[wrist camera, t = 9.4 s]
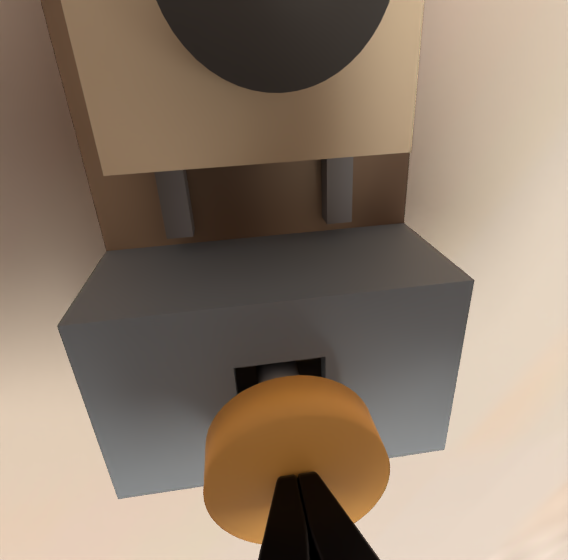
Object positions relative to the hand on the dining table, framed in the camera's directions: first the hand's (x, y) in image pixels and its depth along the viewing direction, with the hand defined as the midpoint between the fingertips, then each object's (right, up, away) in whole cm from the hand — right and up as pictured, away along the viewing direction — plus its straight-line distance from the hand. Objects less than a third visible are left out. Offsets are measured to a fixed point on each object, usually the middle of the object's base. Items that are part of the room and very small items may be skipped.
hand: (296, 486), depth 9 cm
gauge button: (-1, +2, +4) cm, 4 cm away
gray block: (-1, +4, +8) cm, 9 cm away
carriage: (-1, +11, +1) cm, 11 cm away
